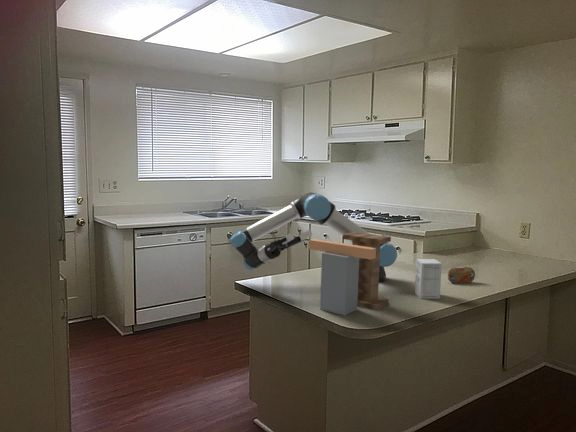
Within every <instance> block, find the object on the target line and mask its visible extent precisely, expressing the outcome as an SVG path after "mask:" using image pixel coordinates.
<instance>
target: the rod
mask: <svg viewBox="0 0 576 432" xmlns="http://www.w3.org/2000/svg"><path fill="white" fill-rule="evenodd" d="M308 250H312V251H318V252H322V253H324V252H329V253H335V254H341V255H347V256H352V257H358V258H364V259H370V260H371V259H374V258H376V248H372V247H365V246H358V245H352V243H343V242H337V241H331V240H326V239H325V240H323V239H318V238H311V239H309V240H308Z"/></svg>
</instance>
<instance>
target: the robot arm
mask: <svg viewBox="0 0 576 432" xmlns="http://www.w3.org/2000/svg"><path fill="white" fill-rule="evenodd" d="M305 217H308V218H310V219H311V220H313V221H315V222H316V223H317V224H319V225H321V226H324V225H326V226H328V227H329V228H330V229H332V230H333V231H335V232H336V233H338V235H341V236H342V237H343V234H348V233H352V232H358V233H366V234H370V233H369V232H368V231H366V230H365V229H364V228H362V227H361V226H360V225H358V224H357V223H355V222H354V221H353V220H351V219H350V218H348V217H346V216H345V215H344V214H343V213H341V212H340V211H339V210H337V208H336V205H335V204H334V203H332V201H330V200H329V199H328V198H327V197H325V196H324V195H323V194H319V193H315V192H307V193H305V194H303V195H302V196H300V197H298V198H296V199H294V200H293V201H291V202H290V204H289V205H287V206H285V207H283V208H281V209H280V210H278V211H276V212H274V213H272V214H270V215H267V216H266V217H264V218H262V219H260V220H259V221H256V222H255V223H253V224H251V225H249V226H247V227H245V228H244V229H242V230H237V231H235V232H234V233H233V234H232V235H231V237H230V238H229V242H230V243H231V245H232V247H234V248H235V250H236V251H237V252H238V253H239V254H240V255H241V256H242V258H243V259H242V263H243V265H244V268H246V270H249V271H253V270H255V269H258V268H260V267H262V265H265V264H266V263H267V264H269V263H270V261H272V260H274V259H277V258H279V257H280V255H281V254H282V253H281V252H282V251H284V250H286V249H289V248H291V247H293V246H296V245H298V244H300V243H302V242H305V240H306V239H308V238H310V237H312V236H313V232H312V231H311V229H309V230H307V231H305V232H303V233H299V234H298V236H296V237H294V235H293V232H290V233H289V234H286V235H285V236H283V237H281V238H280V239H277V240H274V241H270V242H269V243H267V244H265V245H262V246H261V247H259V248H257V247H256V246H255V245H254V243H253V242H254V241H256V240H258V239H259V238H262V237H263V236H266V235H268V234H269V233H271V232H273V231H275V230H277V229H279V228H282V226H285V225H286V224H289V223H291V222H292V221H294V220H296V219H297V220H298V219H299V220H301V219H302V218H305ZM348 241H349V242H351V243H352V240H348ZM397 259H398V251H397V248H396V247H395V246H394V245H393V244H391V243H390V242H387V243H383V244H381V245H380V266H379V283H380V282H381V283H382V282H385V281H387V274H386V270H385V268H388V267H390V266H392V265H393V264H394V263H395V262H396V261H397Z"/></svg>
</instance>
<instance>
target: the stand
mask: <svg viewBox="0 0 576 432" xmlns="http://www.w3.org/2000/svg"><path fill="white" fill-rule="evenodd" d="M342 239H343V240H347V241H349V240H352V242H351V244H352V245H358V246H365V247H372V248H376V258H374V259H371V260H370V259H364V258H359V276H358V299H357V307H362V308H365V309H370V310H373V309H374V311H376V309H377V310H379V309H380V308H382V307H385V306H387V305H389V302H390V299H389V298H385V297H381V296H380V297H379V283H380V282H379V266H380V245H381V244H383V243H390V242H391V240H392V237H391V236H387V235H379V234H372V233H369V234H366V233H358V232H352V233H348V234H343V236H342ZM378 308H379V309H378Z"/></svg>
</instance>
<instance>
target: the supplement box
mask: <svg viewBox="0 0 576 432" xmlns="http://www.w3.org/2000/svg"><path fill="white" fill-rule="evenodd" d="M415 262H416V263H415V264H416V265H415V282H414V283H415V284H414V294H415V295H416V296H417V297H418V298H419V299H421V300H422V299H424V300H426V299H427V300H432V299H433V300H436V299H437V300H438V299H439V300H440V299H441V282H442V268H443V267H442V266H443V264H442V262H440V261H438V260H437V259H435V258H434V259H433V258H425V259H424V258H421V259H420V258H417V259H416V261H415Z"/></svg>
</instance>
